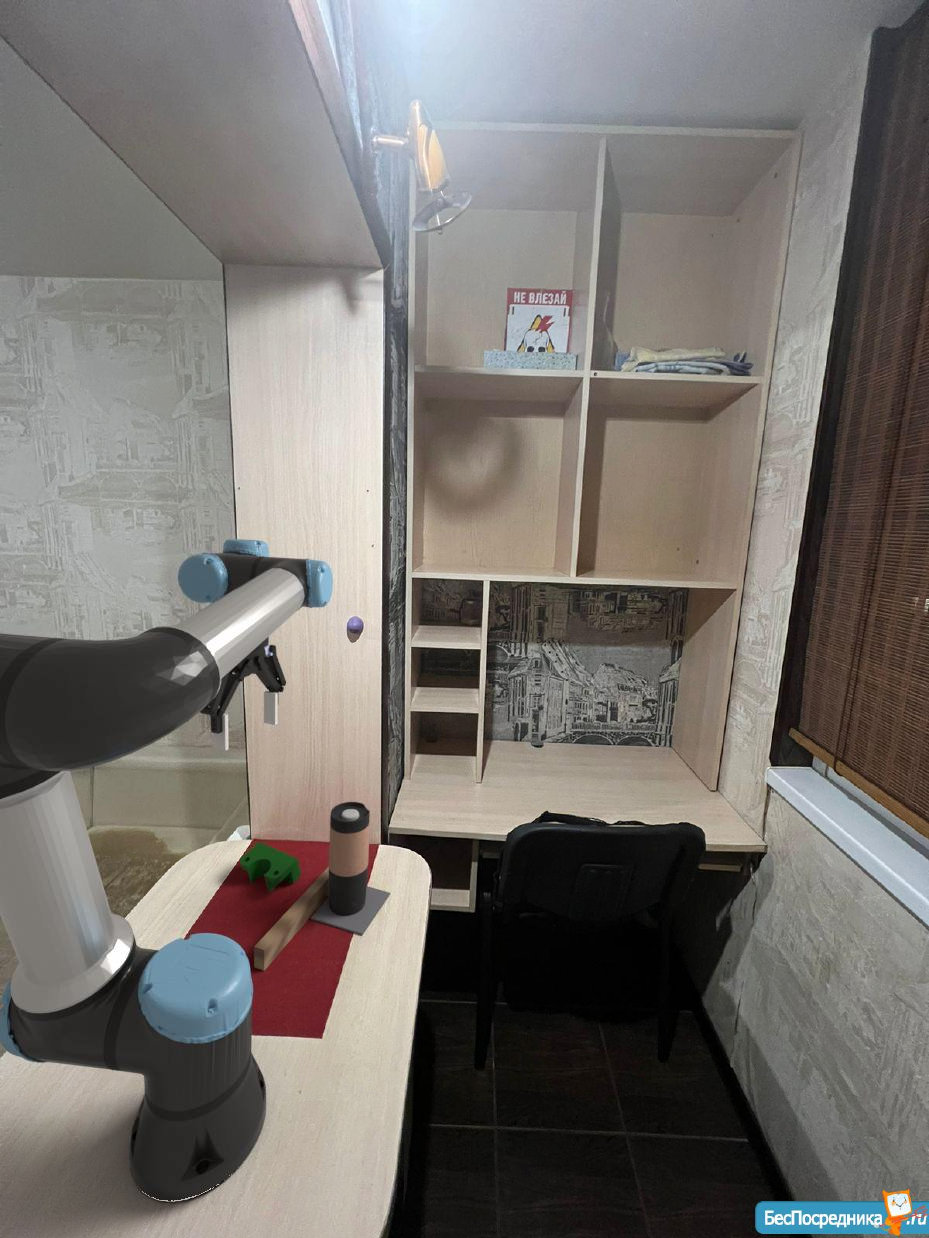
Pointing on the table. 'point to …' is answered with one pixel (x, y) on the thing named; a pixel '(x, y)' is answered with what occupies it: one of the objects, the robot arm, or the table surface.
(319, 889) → the rail
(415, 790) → the table surface
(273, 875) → the clamp
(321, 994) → the table surface
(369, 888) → the end mat
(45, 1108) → the table surface
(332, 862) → the travel mug
